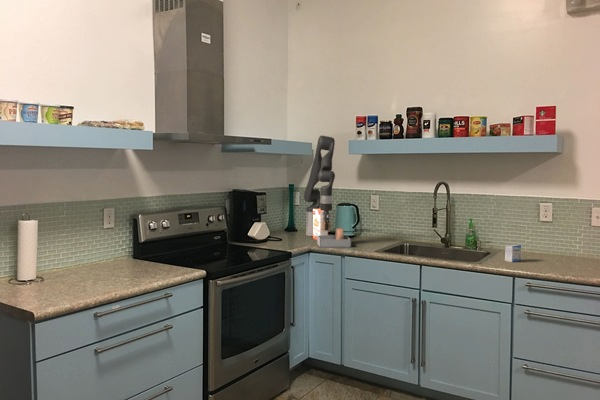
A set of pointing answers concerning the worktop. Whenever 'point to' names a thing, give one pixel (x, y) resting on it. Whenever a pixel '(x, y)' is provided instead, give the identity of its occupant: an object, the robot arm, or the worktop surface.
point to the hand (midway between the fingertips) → (326, 229)
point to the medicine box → (513, 253)
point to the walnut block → (324, 226)
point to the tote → (333, 241)
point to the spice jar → (339, 233)
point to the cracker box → (318, 223)
